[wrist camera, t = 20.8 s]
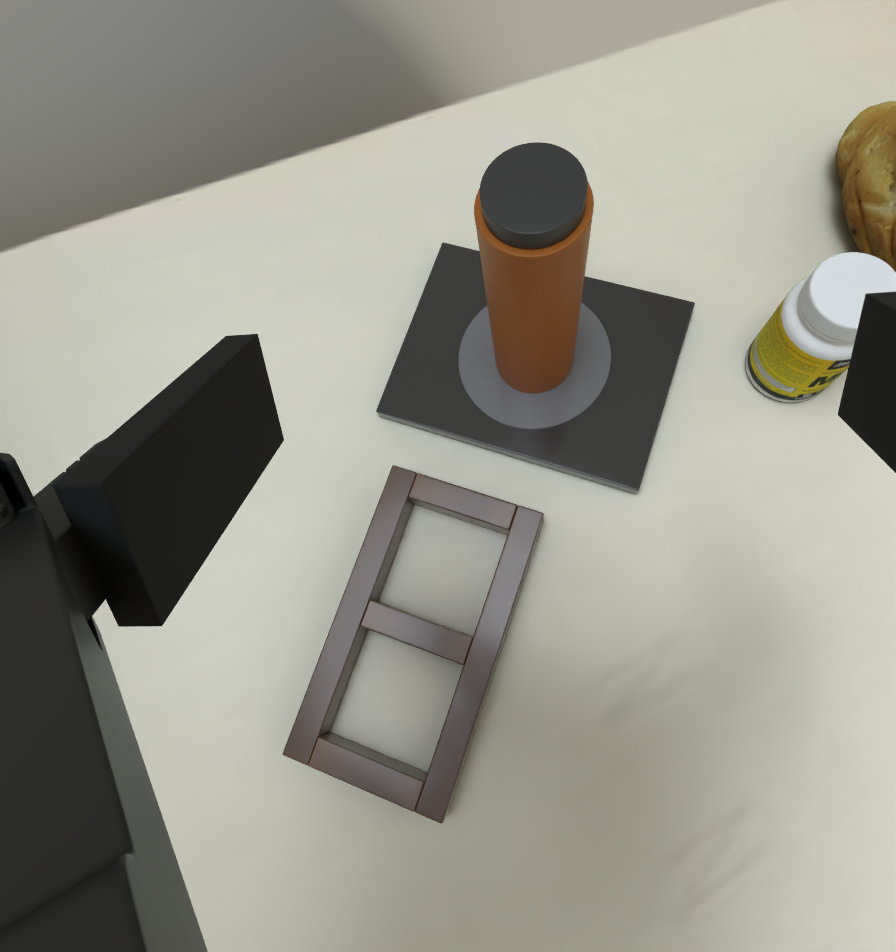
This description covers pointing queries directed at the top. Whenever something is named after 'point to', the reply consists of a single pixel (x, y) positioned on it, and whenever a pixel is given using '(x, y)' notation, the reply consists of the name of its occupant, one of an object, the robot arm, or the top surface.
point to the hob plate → (552, 412)
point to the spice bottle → (534, 260)
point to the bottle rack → (413, 644)
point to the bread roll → (870, 180)
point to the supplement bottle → (816, 327)
